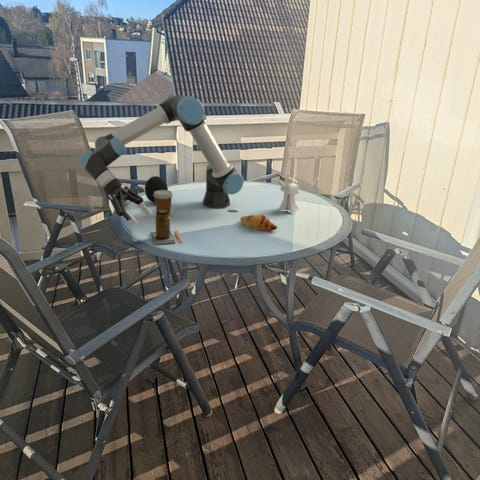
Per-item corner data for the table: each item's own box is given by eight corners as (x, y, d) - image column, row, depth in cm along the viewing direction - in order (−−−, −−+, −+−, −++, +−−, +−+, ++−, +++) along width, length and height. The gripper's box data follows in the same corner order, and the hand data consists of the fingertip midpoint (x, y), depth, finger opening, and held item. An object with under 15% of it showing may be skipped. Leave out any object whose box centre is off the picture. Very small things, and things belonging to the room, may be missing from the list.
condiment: (168, 233, 186) (167, 207, 181) (174, 239, 179) (173, 213, 174) (152, 235, 183) (151, 209, 178) (157, 242, 176) (156, 215, 171)
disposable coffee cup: (169, 219, 205) (168, 195, 200) (151, 217, 206) (150, 194, 202) (175, 213, 213) (175, 190, 209) (158, 211, 215) (157, 189, 211)
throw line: (177, 231, 190) (177, 230, 190) (182, 242, 177) (182, 242, 177) (174, 231, 189) (174, 230, 189) (179, 243, 177) (179, 242, 177)
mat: (170, 231, 189) (170, 230, 189) (175, 243, 177) (175, 242, 176) (150, 233, 186) (150, 232, 186) (154, 245, 174) (154, 243, 174)
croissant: (236, 230, 204) (232, 218, 199) (247, 216, 209) (243, 205, 204) (273, 240, 193) (269, 228, 188) (283, 225, 198) (280, 213, 192)
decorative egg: (172, 203, 228) (172, 177, 223) (153, 207, 220) (152, 180, 214) (159, 198, 236) (158, 172, 231) (141, 202, 228) (139, 175, 222)
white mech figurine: (285, 215, 217) (287, 182, 210) (273, 208, 228) (275, 176, 221) (304, 213, 222) (307, 180, 215) (291, 206, 233) (294, 174, 226)
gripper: (118, 181, 191) (149, 215, 194) (88, 195, 169) (123, 234, 171) (128, 171, 188) (160, 206, 191) (98, 184, 165) (135, 224, 168)
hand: (143, 219), depth 181 cm, fingers open, 13 cm apart
